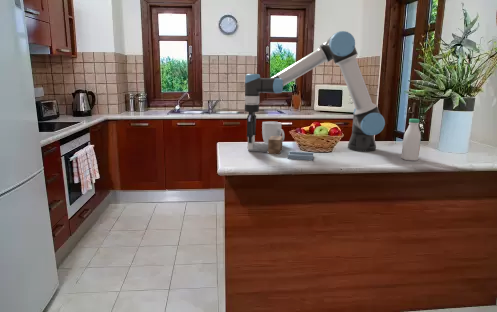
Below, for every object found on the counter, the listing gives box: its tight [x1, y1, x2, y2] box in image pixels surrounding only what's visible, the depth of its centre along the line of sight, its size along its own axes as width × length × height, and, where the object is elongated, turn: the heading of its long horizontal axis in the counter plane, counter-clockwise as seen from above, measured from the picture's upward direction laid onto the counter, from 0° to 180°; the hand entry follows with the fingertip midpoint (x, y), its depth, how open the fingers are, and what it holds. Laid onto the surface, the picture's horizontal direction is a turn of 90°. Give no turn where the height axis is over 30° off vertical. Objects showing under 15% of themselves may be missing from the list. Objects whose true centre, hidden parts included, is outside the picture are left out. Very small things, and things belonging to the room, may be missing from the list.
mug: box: [261, 120, 285, 143], centre depth 203 cm, size 15×11×13 cm
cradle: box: [287, 150, 314, 161], centre depth 175 cm, size 12×9×2 cm
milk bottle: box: [401, 118, 422, 162], centre depth 173 cm, size 8×8×20 cm
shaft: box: [247, 141, 268, 153], centre depth 188 cm, size 15×4×4 cm, turn 78°
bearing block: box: [267, 135, 284, 155], centre depth 187 cm, size 6×12×8 cm, turn 168°
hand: (251, 147), depth 190 cm, fingers closed on shaft, 4 cm apart
